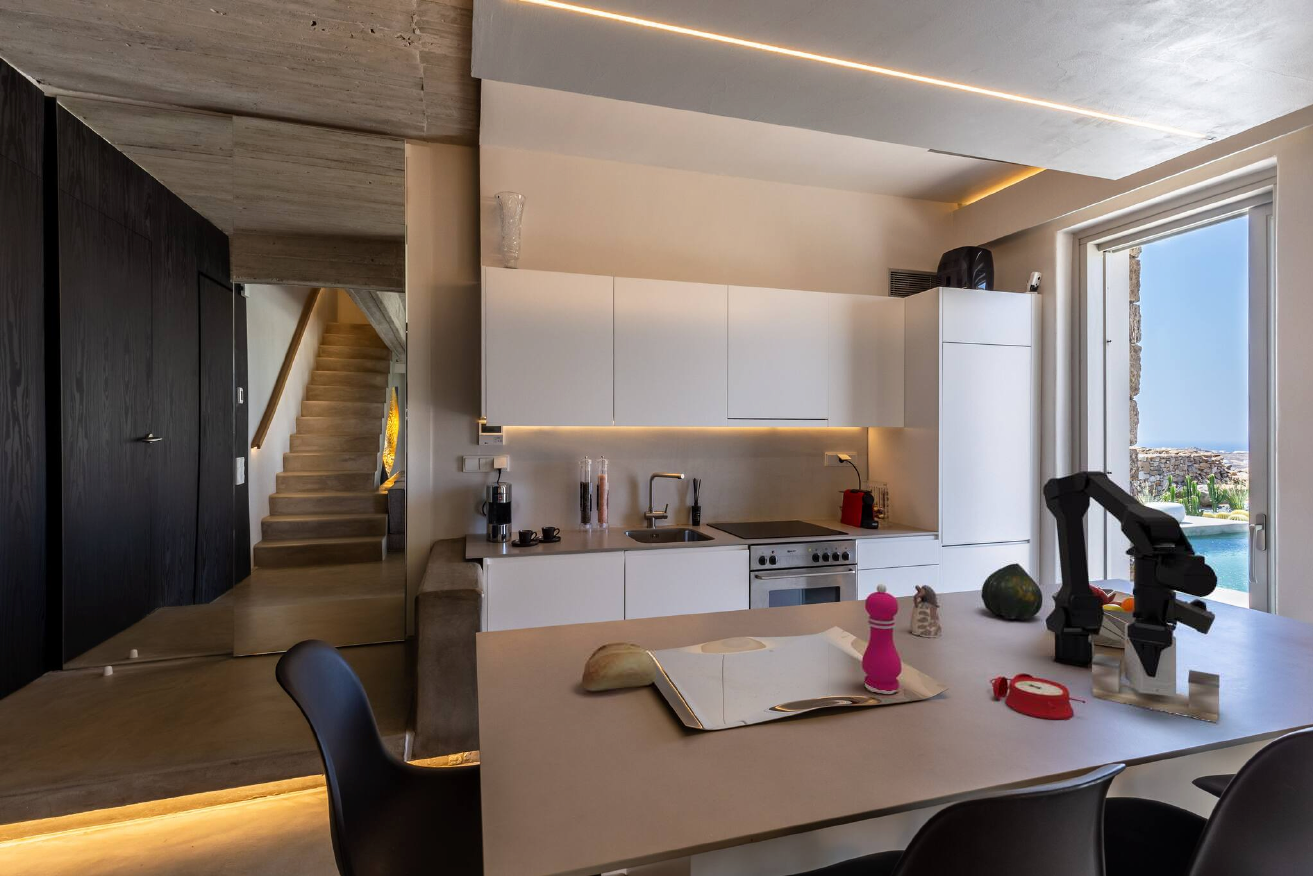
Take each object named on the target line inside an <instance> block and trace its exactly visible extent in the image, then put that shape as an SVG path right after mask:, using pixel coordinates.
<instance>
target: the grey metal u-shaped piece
mask: <svg viewBox="0 0 1313 876" xmlns="http://www.w3.org/2000/svg"><path fill="white" fill-rule="evenodd" d="M1091 667H1092V668H1091V672H1092V673H1091V677H1092V679H1091V681H1092V682H1091V688H1092V698H1097V699H1102V700H1107V701H1110V702H1111V701H1112V702H1116V703H1119V704H1124V703H1126V704H1125V705H1129V704H1132V705H1131V706H1134V705H1135V706H1134V707H1138V706H1142V707H1141V708H1143V707H1146V708H1145V709H1148V708H1152V709H1155V710H1154V711H1157V710H1162V711H1167V712H1171V713H1178V714H1180V715H1187V716H1190V717H1196V718H1198V719H1197V720H1199V719H1204V720H1210V721H1212V722H1211V723H1213V722H1217V723H1216V724H1218V720H1219V717H1218V716H1219V715H1220V674H1215V673H1210V672H1206V671H1205V672H1204V671H1203V672H1202V671H1197V670H1191V669H1189V670H1188V679H1187V680H1188V681H1187V682H1188V695H1183V694H1178V693H1176V696H1167V695H1158V694H1148V693H1140V692H1139V691H1138V690H1137V689H1136V688H1135V687H1134V686H1133V685H1132V684H1128V683H1123V657H1119V656H1115V655H1114V656H1113V655H1108V654H1102V653H1095V654H1094V658H1093V660H1092V663H1091ZM1152 709H1151V710H1152ZM1162 711H1161V712H1162ZM1171 713H1170V714H1171ZM1180 715H1179V716H1180ZM1190 717H1189V718H1190ZM1204 720H1203V721H1204Z"/></svg>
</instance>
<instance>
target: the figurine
mask: <svg viewBox="0 0 1313 876" xmlns="http://www.w3.org/2000/svg"><path fill="white" fill-rule="evenodd" d="M914 589H915V590H916V591H917V592H916V593H915V594H914V595H913V601H912V602H913V605H914V606H913V609H912V612H911V615H910V616H911V617H910V622H909V628H910V629H911V630H910V629H909V630H910V632H911V631H912V632H913V633H917V634H919V635H924V636H938V635H940V634H941V635H942V627H941V623H940V618H939V612H938V608H941V607H940V606H941V605H940V604H938V598H937V595H936V591H935V590H934V589H933V588H932V587H931V585H927V584H924V585H921V587H920V586H919V585H918V584H917V585H915V586H914ZM919 599H920V600H919ZM918 600H919V601H918Z"/></svg>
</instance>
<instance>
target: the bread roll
mask: <svg viewBox="0 0 1313 876" xmlns="http://www.w3.org/2000/svg"><path fill="white" fill-rule="evenodd" d="M584 666H585V667H584V670H583V673H582V679H581V682H582V686H583V687H584V689H585V690H587V691H591V692H599V691H605V690H606V691H607V690H615V689H623V688H633V687H643V686H649V685H651V684H652V683H653V682H654V680H655V679H656V678H657V669H656V666H655V663H654V662H653V660H652V659H651V656H650V655H649V654H648V652H647V651H646V650H645V649H643V648H641V646H640V645H636V644H634V643H630V642H613V643H612V642H611V643H608V644H604V645H602V646H600V647H598V648H597V649H595V651H593V652H592V654H591V655H590V657H589V658H588V660H587V661H586V663H585V665H584Z"/></svg>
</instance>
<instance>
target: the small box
mask: <svg viewBox="0 0 1313 876" xmlns="http://www.w3.org/2000/svg"><path fill="white" fill-rule="evenodd" d="M1128 624H1129V622H1127V623H1125V624H1124V678H1125V679H1126V680H1127V681H1128V682H1129V683H1130V685H1133V686H1134V687H1135V688H1136V689H1137V690H1138V691H1139V692H1140V693H1148V694H1158V695H1167V696H1176V694H1177V638H1176V636H1174V635H1173V643H1172V646H1171V647H1168V648H1166V649H1164V650H1163V651H1162V652H1161V655H1160V660H1159V664H1158V668H1157V672H1156V676H1155V677H1149V676H1147V674H1146V672H1145V670H1144V668H1143V665H1142V663H1141V661H1140V659H1139V657H1138V655H1137V653H1136V651H1135V649H1134V647H1133V645H1132V643H1131V641H1130V640H1129V637H1127V626H1128Z"/></svg>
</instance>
